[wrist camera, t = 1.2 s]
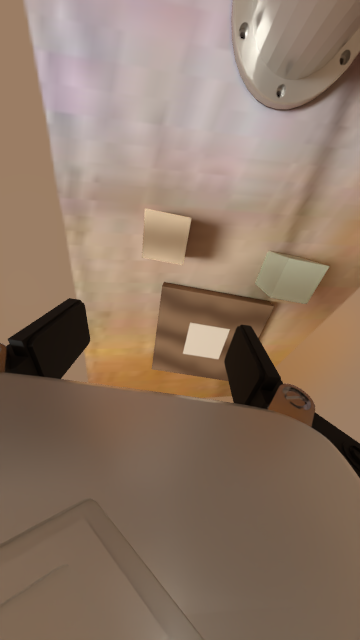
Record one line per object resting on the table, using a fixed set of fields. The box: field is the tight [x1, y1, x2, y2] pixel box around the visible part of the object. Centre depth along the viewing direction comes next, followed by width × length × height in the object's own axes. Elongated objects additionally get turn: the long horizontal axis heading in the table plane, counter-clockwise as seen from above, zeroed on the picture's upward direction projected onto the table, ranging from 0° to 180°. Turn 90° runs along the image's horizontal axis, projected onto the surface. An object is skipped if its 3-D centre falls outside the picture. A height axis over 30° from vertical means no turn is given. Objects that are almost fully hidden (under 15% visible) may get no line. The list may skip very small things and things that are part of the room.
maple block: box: [142, 209, 191, 265], centre depth 22 cm, size 5×5×6 cm
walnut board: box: [152, 282, 274, 381], centre depth 32 cm, size 18×18×2 cm
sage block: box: [255, 251, 329, 304], centre depth 24 cm, size 5×5×6 cm
